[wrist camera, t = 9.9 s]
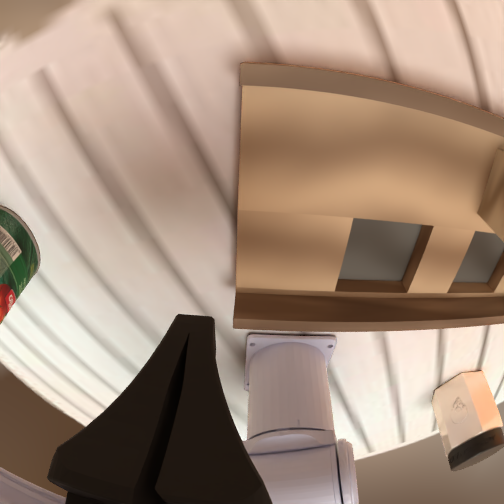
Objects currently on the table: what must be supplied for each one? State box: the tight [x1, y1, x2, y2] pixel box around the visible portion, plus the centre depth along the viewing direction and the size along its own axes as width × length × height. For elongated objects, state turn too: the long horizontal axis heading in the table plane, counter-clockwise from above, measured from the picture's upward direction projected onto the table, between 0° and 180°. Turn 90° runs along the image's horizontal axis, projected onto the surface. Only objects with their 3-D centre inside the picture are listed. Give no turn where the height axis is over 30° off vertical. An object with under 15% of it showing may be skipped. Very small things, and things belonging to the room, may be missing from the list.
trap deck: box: [233, 62, 504, 332], centre depth 18 cm, size 16×26×4 cm, turn 87°
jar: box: [432, 371, 504, 471], centre depth 30 cm, size 9×8×12 cm
